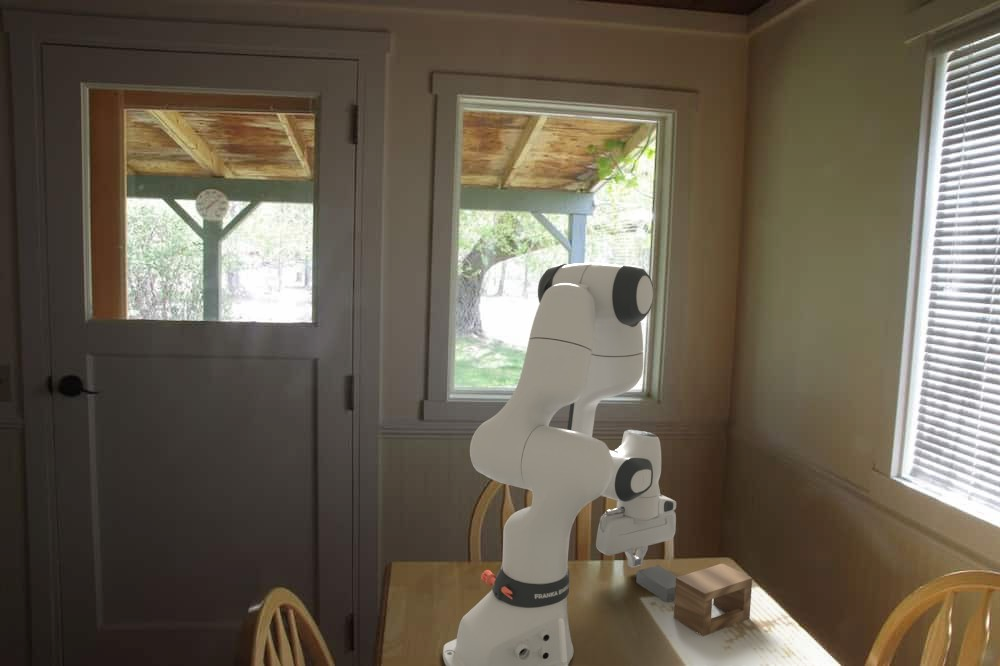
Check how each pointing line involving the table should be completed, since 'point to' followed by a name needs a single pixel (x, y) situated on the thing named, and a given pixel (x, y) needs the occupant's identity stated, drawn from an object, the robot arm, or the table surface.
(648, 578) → the grey rectangular block
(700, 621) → the shelf
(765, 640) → the table surface
